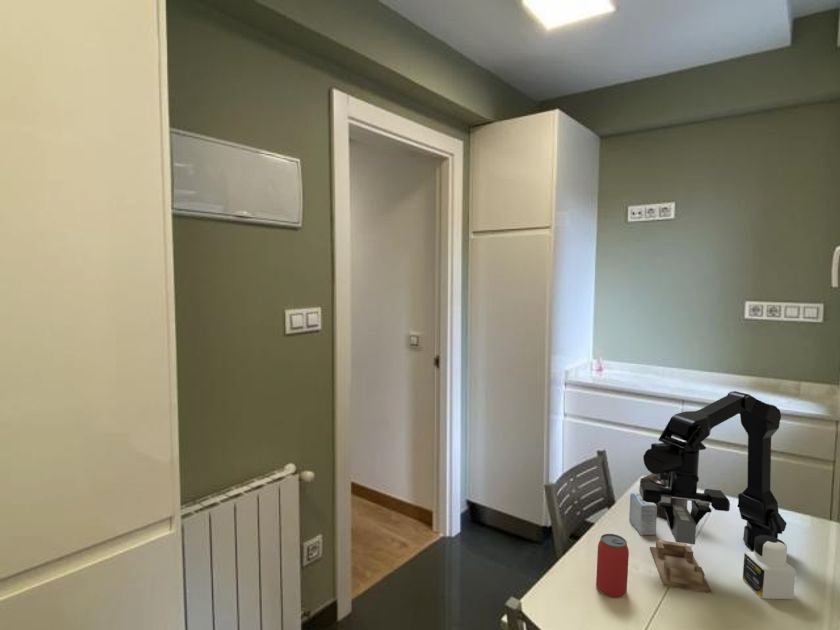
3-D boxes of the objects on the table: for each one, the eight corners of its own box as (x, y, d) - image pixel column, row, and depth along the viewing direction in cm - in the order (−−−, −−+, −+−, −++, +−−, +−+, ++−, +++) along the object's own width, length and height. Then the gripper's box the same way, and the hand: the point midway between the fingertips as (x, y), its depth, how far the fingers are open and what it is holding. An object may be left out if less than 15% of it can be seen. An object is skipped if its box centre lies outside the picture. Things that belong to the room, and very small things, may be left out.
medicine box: (656, 535, 137) (657, 505, 136) (639, 535, 137) (641, 505, 136) (643, 521, 145) (645, 493, 144) (628, 521, 145) (630, 492, 144)
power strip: (684, 525, 125) (685, 505, 124) (694, 544, 116) (696, 523, 115) (667, 523, 126) (668, 503, 125) (676, 542, 117) (677, 521, 116)
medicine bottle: (741, 579, 118) (745, 531, 117) (772, 580, 118) (776, 532, 116) (761, 599, 111) (765, 547, 110) (794, 600, 110) (798, 548, 109)
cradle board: (691, 554, 128) (692, 542, 128) (711, 593, 112) (712, 579, 112) (649, 548, 130) (650, 537, 130) (663, 585, 115) (664, 572, 115)
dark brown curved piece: (636, 508, 153) (639, 451, 151) (654, 499, 160) (657, 444, 158) (687, 529, 141) (691, 468, 139) (705, 518, 147) (709, 459, 146)
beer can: (623, 603, 109) (626, 551, 108) (592, 592, 112) (595, 542, 111) (629, 587, 114) (631, 537, 113) (599, 577, 118) (601, 529, 117)
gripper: (716, 459, 125) (712, 519, 126) (637, 452, 129) (634, 509, 131) (732, 477, 114) (728, 542, 115) (645, 468, 119) (641, 530, 120)
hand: (680, 529), depth 121 cm, fingers closed on power strip, 4 cm apart
